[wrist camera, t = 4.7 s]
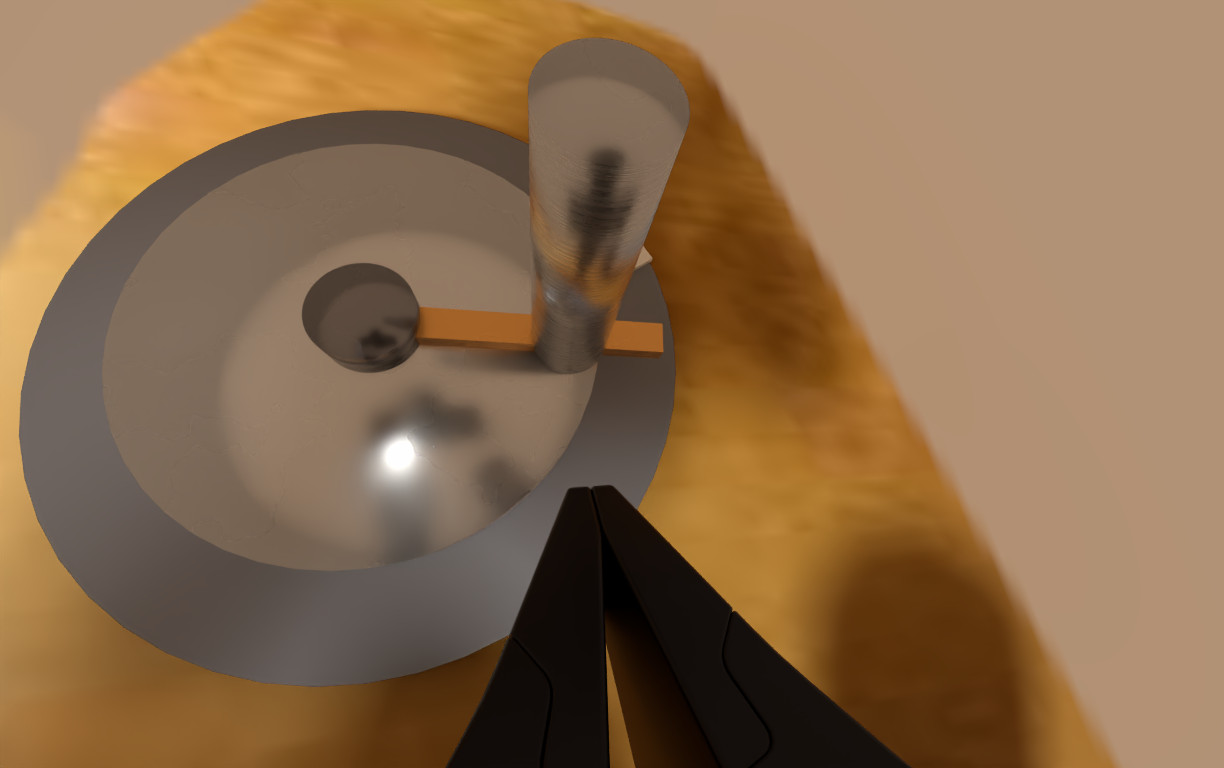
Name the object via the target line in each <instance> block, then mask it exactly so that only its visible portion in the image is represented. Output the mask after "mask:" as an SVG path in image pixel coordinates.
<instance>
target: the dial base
mask: <svg viewBox="0 0 1224 768" xmlns="http://www.w3.org/2000/svg"><path fill="white" fill-rule="evenodd" d="M353 144H388V145H403V146H410V147H416V148H422V149H428V150H433V151H436V152H440V153H444V154H447V155H451V156H455V157H458V158H460V159H463V160H466V161H468V162H471V163H473V164H476V165H478V166H481V167H483V168H485V169H487V170H489V171H491V172H492V173H494V174H496V175H498V176H500V177H502V178H504V179H505V180H507V181H508V182H510V183H511V184H513V185H514V186H516V187H517V188H519V189H520V190H522V191H523V192H525V193H526V194H527V195H528V196H529V197H530V186H529V144H527V143H524V142H522V141H520V140H517V139H515V138H513V137H510V136H508V135H506V134H504V133H501V132H499V131H496V130H492V129H489V128H486V127H483V126H480V125H477V124H474V123H471V122H467V121H462V120H457V119H453V118H448V117H443V116H439V115H433V114H424V113H415V112H406V111H366V110H365V111H353V112H341V113H329V114H323V115H318V116H312V117H307V118H301V119H296V120H291V121H287V122H284V123H280V124H277V125H273V126H270V127H266V128H263V129H259V130H256V131H253V132H251V133H248V134H245V135H243V136H240V137H238V138H235V139H233V140H230V141H228V142H225V143H222V144H220V145H218V146H216V147H214V148H212V149H210V150H208V151H206V152H204V153H202V154H200V155H198V156H197V157H195V158H193V159H191V160H189V161H187V162H185V163H183V164H182V165H180V166H179V167H177V168H176V169H174V170H173V171H171V172H170V173H168V174H166V175H165V176H163V177H162V178H160V179H159V180H157V181H156V182H154V183H153V184H151V185H150V186H149V187H147V188H146V189H145V190H144V191H143V192H141V193H140V194H139V195H138V196H137V197H135V198H134V199H133V200H132V201H130V202H129V203H128V204H127V205H126V206H124V207H123V208H122V209H121V210H120V211H119V212H118V213H117V214H116V215H115V216H114V217H113V218H112V219H111V220H110V221H109V222H108V223H107V224H106V225H105V226H104V227H103V228H102V229H101V230H100V231H99V232H98V233H97V234H96V236H95V237H94V238H93V239H92V240H91V241H90V242H89V243H88V245H87V246H86V247H85V249H84V250H83V252H82V253H81V254H80V256H79V257H78V258H77V260H76V261H75V262H74V264H73V265H72V266H71V268H70V269H69V270H68V272H67V273H66V274H65V276H64V278H63V280H62V282H61V283H60V285H59V287H58V289H57V291H56V292H55V294H54V296H53V298H52V300H51V301H50V303H49V305H48V307H47V309H46V310H45V313H44V315H43V318H42V320H41V323H40V326H39V328H38V331H37V334H36V336H35V339H34V341H33V344H32V347H31V349H30V353H29V358H28V362H27V367H26V372H25V376H24V381H23V386H22V390H21V404H20V426H19V439H20V447H21V454H22V462H23V470H24V478H25V481H26V484H27V488H28V491H29V494H30V497H31V500H32V503H33V506H34V510H35V513H36V516H37V519H38V521H39V523H40V525H41V527H42V529H43V531H44V533H45V535H46V536H47V538H48V540H49V542H50V544H51V546H52V548H53V549H54V551H55V553H56V555H57V557H58V559H59V560H60V562H61V563H62V564H63V565H64V567H65V568H66V569H67V570H68V572H69V573H70V574H71V575H72V577H73V578H74V579H75V580H76V582H77V583H78V584H79V585H80V587H81V588H82V589H83V590H84V592H85V593H86V594H87V595H88V597H90V598H91V599H92V600H93V601H94V602H95V603H96V604H98V605H99V606H100V607H101V608H102V609H103V610H105V611H106V612H107V613H108V614H109V615H110V616H111V617H113V618H114V619H115V620H116V621H117V622H118V623H119V624H121V625H122V626H123V627H124V628H126V629H127V630H129V631H131V632H132V633H134V634H136V635H137V636H139V637H141V638H142V639H144V640H146V641H147V642H149V643H151V644H152V645H154V646H156V647H157V648H159V649H160V650H162V651H164V652H165V653H168V654H170V655H173V656H175V657H178V658H180V659H183V660H185V661H188V662H190V663H193V664H195V665H198V666H200V667H203V668H205V669H208V670H210V671H213V672H217V673H221V674H226V675H230V676H235V677H239V678H243V679H248V680H252V681H257V682H261V683H270V684H284V685H297V686H310V687H321V686H336V685H352V684H367V683H372V682H377V681H382V680H387V679H391V678H396V677H401V676H406V675H411V674H416V673H419V672H422V671H425V670H428V669H431V668H434V667H437V666H440V665H443V664H446V663H449V662H451V661H454V660H457V659H460V658H463V657H466V656H468V655H470V654H472V653H474V652H476V651H478V650H480V649H482V648H484V647H486V646H488V645H490V644H492V643H494V642H496V641H498V640H500V639H502V638H504V637H506V636H508V635H509V634H510V632H511V629H512V627H513V624H514V622H515V619H516V617H517V614H518V612H519V609H520V606H521V604H522V601H523V599H524V596H525V594H526V591H527V589H528V586H529V584H530V581H531V579H532V576H533V574H534V571H535V569H536V566H537V564H538V561H539V559H540V556H541V554H542V551H543V549H544V546H545V544H546V541H547V539H548V536H549V534H550V531H551V529H552V526H553V524H554V521H555V519H556V516H557V514H558V511H559V509H560V506H561V504H562V501H563V499H564V496H565V494H566V491H567V490H568V489H569V488H571V487H584V486H587V487H589V488H590V489H591V488H592V487H593V486H599V485H612V486H614V487H615V488H616V489H617V490H618V491H619V492H620V493H621V494H622V495H623V496H624V497H625V498H626V499H627V500H628V501H629V502H630V503H631V504H632V505H633V506H634V507H635V508H636V509H638V507H639V505H640V503H641V501H642V499H643V497H644V495H645V493H646V491H647V489H648V487H649V485H650V483H651V481H652V479H653V477H654V474H655V471H656V469H657V466H658V463H659V460H660V457H661V454H662V452H663V449H664V446H665V443H666V439H667V434H668V429H669V425H670V420H671V415H672V410H673V403H674V389H675V375H676V369H675V354H674V339H673V334H672V329H671V324H670V319H669V314H668V309H667V305H666V302H665V300H664V297H663V294H662V291H661V288H660V285H659V282H658V279H657V277H656V275H655V273H654V271H653V269H652V267H651V265H650V263H649V262H651V261H652V259H653V258H652V257H651V255H650V254H649V253H648V251H647V250H646V249H645V248H644V246H643V247H642V250H641V253H640V255H639V258H638V261H637V263H636V266H635V269H634V271H633V274H632V277H631V279H630V282H629V285H628V287H627V290H626V293H625V295H624V298H623V301H622V303H621V306H620V309H619V311H618V314H617V317H616V319H615V320H617V321H632V322H646V323H660V324H662V325H663V353H662V355H661V356H660V358H659V359H655V358H638V357H621V356H604V355H602V356H601V358H600V359H599V361H598V363H597V370H596V374H595V379H594V383H593V388H592V392H591V395H590V398H589V401H588V403H587V406H586V409H585V411H584V414H583V417H582V419H581V422H580V424H579V427H578V429H577V431H576V433H575V435H574V436H573V438H572V440H571V442H570V444H569V446H568V448H567V449H566V451H565V453H564V454H563V456H562V457H561V459H560V460H559V461H558V463H557V464H556V465H555V467H554V468H553V470H552V471H551V472H550V474H549V475H548V476H547V477H546V478H545V480H544V481H543V482H542V483H541V484H540V485H539V486H538V487H537V488H536V489H535V490H534V491H533V492H532V493H531V495H530V496H529V497H528V498H526V499H525V500H524V501H523V502H522V503H520V504H519V505H518V506H517V507H516V508H514V509H513V510H512V511H511V512H510V513H508V514H507V515H506V516H505V517H503V518H502V519H500V520H499V521H497V522H496V523H494V524H492V525H491V526H489V527H488V528H486V529H485V530H483V531H482V532H480V533H478V534H477V535H475V536H472V537H470V538H468V539H466V540H464V541H462V542H460V543H458V544H456V545H454V546H452V547H450V548H447V549H444V550H441V551H438V552H435V553H432V554H429V555H426V556H423V557H420V558H417V559H413V560H408V561H403V562H399V563H394V564H389V565H384V566H379V567H374V568H367V569H354V570H340V571H321V570H304V569H292V568H287V567H282V566H277V565H271V564H266V563H261V562H257V561H254V560H251V559H248V558H245V557H243V556H240V555H237V554H234V553H231V552H228V551H225V550H223V549H221V548H219V547H217V546H215V545H213V544H211V543H210V542H208V541H206V540H204V539H202V538H200V537H198V536H196V535H194V534H193V533H191V532H190V531H188V530H187V529H186V528H184V527H183V526H182V525H180V524H179V523H178V522H176V521H175V520H174V519H172V518H171V517H170V516H169V515H167V514H166V513H165V512H164V511H163V510H162V509H161V508H160V507H159V506H158V505H157V504H156V503H155V502H154V501H153V500H152V499H151V498H150V497H149V496H148V495H147V494H146V492H145V491H144V490H143V489H142V488H141V487H140V485H139V484H138V482H137V481H136V479H135V478H134V476H133V475H132V473H131V472H130V470H129V469H128V467H127V466H126V464H125V463H124V461H123V459H122V457H121V454H120V452H119V450H118V447H117V445H116V443H115V440H114V438H113V436H112V434H111V431H110V426H109V422H108V418H107V414H106V409H105V405H104V399H103V382H102V365H103V356H104V347H105V339H106V336H107V332H108V328H109V325H110V321H111V317H112V314H113V310H114V308H115V306H116V304H117V301H118V299H119V297H120V295H121V292H122V290H123V288H124V286H125V283H126V282H127V280H128V278H129V277H130V275H131V274H132V272H133V270H134V269H135V267H136V266H137V264H138V262H139V261H140V259H141V258H142V256H143V255H144V254H145V252H146V251H147V250H148V249H149V248H150V246H151V245H152V244H153V243H154V241H155V240H156V239H157V238H158V237H159V235H160V234H161V233H162V232H163V231H164V230H165V229H166V228H167V227H168V226H169V225H170V224H171V223H172V222H173V221H175V220H176V219H177V218H178V217H179V216H180V215H181V214H182V213H183V212H184V211H185V210H187V209H188V208H189V207H191V206H192V205H193V204H195V203H196V202H197V201H199V200H200V199H201V198H203V197H204V196H205V195H207V194H208V193H209V192H211V191H213V190H214V189H216V188H218V187H220V186H221V185H223V184H225V183H226V182H228V181H230V180H231V179H233V178H235V177H237V176H239V175H241V174H243V173H246V172H248V171H250V170H252V169H254V168H257V167H259V166H261V165H263V164H266V163H269V162H272V161H275V160H278V159H281V158H284V157H287V156H290V155H293V154H298V153H302V152H306V151H311V150H315V149H319V148H327V147H334V146H342V145H353Z"/></svg>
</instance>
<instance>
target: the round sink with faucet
mask: <svg viewBox="0 0 1224 768" xmlns="http://www.w3.org/2000/svg"><path fill="white" fill-rule="evenodd" d="M528 114H529V186H530V197H529V196H528V195H527V194H526V193H525V192H523V191H522V190H520V189H519V188H517V187H516V186H514V185H513V184H511V183H510V182H508V181H507V180H505V179H504V178H502V177H500V176H498V175H496V174H494V173H492V172H491V171H489V170H487V169H485V168H483V167H481V166H478V165H476V164H473V163H471V162H468V161H466V160H463V159H460V158H458V157H455V156H451V155H447V154H444V153H440V152H436V151H433V150H428V149H422V148H416V147H410V146H403V145H388V144H353V145H342V146H334V147H327V148H319V149H315V150H311V151H306V152H302V153H298V154H293V155H290V156H287V157H284V158H281V159H278V160H275V161H272V162H269V163H266V164H263V165H261V166H259V167H257V168H254V169H252V170H250V171H248V172H246V173H243V174H241V175H239V176H237V177H235V178H233V179H231V180H230V181H228V182H226V183H225V184H223V185H221V186H220V187H218V188H216V189H214V190H213V191H211V192H209V193H208V194H207V195H205V196H204V197H203V198H201V199H200V200H199V201H197V202H196V203H195V204H193V205H192V206H191V207H189V208H188V209H187V210H185V211H184V212H183V213H182V214H181V215H180V216H179V217H178V218H177V219H176V220H175V221H173V222H172V223H171V224H170V225H169V226H168V227H167V228H166V229H165V230H164V231H163V232H162V233H161V234H160V235H159V237H158V238H157V239H156V240H155V241H154V243H153V244H152V245H151V246H150V248H149V249H148V250H147V251H146V252H145V254H144V255H143V256H142V258H141V259H140V261H139V262H138V264H137V266H136V267H135V269H134V270H133V272H132V274H131V275H130V277H129V278H128V280H127V282H126V283H125V286H124V288H123V290H122V292H121V295H120V297H119V299H118V301H117V304H116V306H115V308H114V310H113V314H112V317H111V321H110V325H109V328H108V332H107V336H106V339H105V347H104V356H103V365H102V382H103V399H104V405H105V409H106V414H107V418H108V422H109V426H110V431H111V434H112V436H113V438H114V440H115V443H116V445H117V447H118V450H119V452H120V454H121V457H122V459H123V461H124V463H125V464H126V466H127V467H128V469H129V470H130V472H131V473H132V475H133V476H134V478H135V479H136V481H137V482H138V484H139V485H140V487H141V488H142V489H143V490H144V491H145V492H146V494H147V495H148V496H149V497H150V498H151V499H152V500H153V501H154V502H155V503H156V504H157V505H158V506H159V507H160V508H161V509H162V510H163V511H164V512H165V513H166V514H167V515H169V516H170V517H171V518H172V519H174V520H175V521H176V522H178V523H179V524H180V525H182V526H183V527H184V528H186V529H187V530H188V531H190V532H191V533H193V534H194V535H196V536H198V537H200V538H202V539H204V540H206V541H208V542H210V543H211V544H213V545H215V546H217V547H219V548H221V549H223V550H225V551H228V552H231V553H234V554H237V555H240V556H243V557H245V558H248V559H251V560H254V561H257V562H261V563H266V564H271V565H277V566H282V567H287V568H292V569H304V570H321V571H340V570H354V569H367V568H374V567H379V566H384V565H389V564H394V563H399V562H403V561H408V560H413V559H417V558H420V557H423V556H426V555H429V554H432V553H435V552H438V551H441V550H444V549H447V548H450V547H452V546H454V545H456V544H458V543H460V542H462V541H464V540H466V539H468V538H470V537H472V536H475V535H477V534H478V533H480V532H482V531H483V530H485V529H486V528H488V527H489V526H491V525H492V524H494V523H496V522H497V521H499V520H500V519H502V518H503V517H505V516H506V515H507V514H508V513H510V512H511V511H512V510H513V509H514V508H516V507H517V506H518V505H519V504H520V503H522V502H523V501H524V500H525V499H526V498H528V497H529V496H530V495H531V493H532V492H533V491H534V490H535V489H536V488H537V487H538V486H539V485H540V484H541V483H542V482H543V481H544V480H545V478H546V477H547V476H548V475H549V474H550V472H551V471H552V470H553V468H554V467H555V465H556V464H557V463H558V461H559V460H560V459H561V457H562V456H563V454H564V453H565V451H566V449H567V448H568V446H569V444H570V442H571V440H572V438H573V436H574V435H575V433H576V431H577V429H578V427H579V424H580V422H581V419H582V417H583V414H584V411H585V409H586V406H587V403H588V401H589V398H590V395H591V392H592V388H593V383H594V379H595V374H596V370H597V363H598V361H599V359H600V358H601V356H602V355H604V356H621V357H638V358H655V359H659V358H660V356H661V355H662V353H663V325H662V324H660V323H646V322H632V321H617V320H615V319H616V317H617V314H618V311H619V309H620V306H621V303H622V301H623V298H624V295H625V293H626V290H627V287H628V285H629V282H630V279H631V277H632V274H633V271H634V269H635V266H636V263H637V261H638V258H639V255H640V253H641V250H642V247H643V245H644V242H645V239H646V237H647V234H648V231H649V229H650V226H651V223H652V221H653V218H654V215H655V213H656V210H657V207H658V205H659V202H660V199H661V197H662V194H663V191H664V189H665V186H666V183H667V181H668V178H669V175H670V173H671V170H672V167H673V165H674V162H675V159H676V157H677V154H678V151H679V149H680V146H681V143H682V141H683V138H684V135H685V133H686V130H687V127H688V124H689V118H690V107H689V101H688V98H687V94H686V92H685V90H684V88H683V85H682V84H681V82H680V81H679V79H678V78H677V76H676V75H675V74H674V73H673V71H672V70H671V69H670V68H669V67H668V66H667V65H666V64H664V63H663V62H662V61H661V60H659V59H658V58H657V57H655V56H654V55H652V54H651V53H649V52H647V51H645V50H643V49H641V48H639V47H637V46H634V45H632V44H629V43H625V42H622V41H618V40H613V39H605V38H585V39H578V40H573V41H570V42H566V43H563V44H561V45H559V46H557V47H555V48H553V49H552V50H550V51H549V52H547V53H546V54H545V55H544V56H543V57H542V58H541V59H540V60H539V61H538V63H537V64H536V65H535V67H534V69H533V71H532V73H531V76H530V79H529V85H528Z"/></svg>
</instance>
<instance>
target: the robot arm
mask: <svg viewBox="0 0 1224 768" xmlns="http://www.w3.org/2000/svg"><path fill="white" fill-rule="evenodd" d="M606 645H607V649H608V654H609V658H610V662H611V666H612V671H613V675H614V679H615V683H616V687H617V692H618V696H619V700H620V704H621V709H622V713H623V717H624V721H625V725H626V730H627V734H628V738H629V742H630V747H631V751H632V755H633V759H634V764H635V768H913V767H911V766H910V765H908V764H907V763H906V762H905V761H903V760H902V759H901V758H900V757H898V756H897V755H896V754H895V753H893V752H892V751H891V750H890V749H889V748H888V747H886V746H885V745H884V744H883V743H882V742H881V741H879V740H878V739H877V738H876V737H875V736H873V735H872V734H871V733H870V732H869V731H868V730H866V729H865V728H864V727H863V726H862V725H861V724H859V723H858V722H857V721H856V720H855V719H854V718H852V717H851V716H850V715H849V714H848V713H846V712H845V711H844V710H843V709H842V708H841V707H839V706H838V705H837V704H836V703H835V702H834V701H832V700H831V699H830V698H829V697H828V696H827V695H825V694H824V693H823V692H822V691H821V690H819V689H818V688H817V687H816V686H815V685H814V684H812V683H811V682H810V681H809V680H808V679H807V678H806V677H804V676H803V675H802V674H801V673H800V672H799V671H798V670H797V669H795V668H794V667H793V666H792V665H791V664H790V663H789V662H788V661H786V660H785V659H784V658H783V657H782V656H781V655H780V654H779V653H778V652H777V651H776V650H775V649H773V648H772V647H771V646H770V645H769V644H768V643H767V642H766V641H765V640H764V639H763V638H762V637H761V636H760V635H759V634H758V633H757V632H756V631H755V630H754V629H753V628H752V627H751V626H750V625H749V624H748V623H747V622H746V621H745V620H744V619H743V618H742V617H741V616H740V615H739V614H738V613H737V612H736V611H733V612H732V607H731V606H730V605H729V604H728V603H727V602H726V601H725V600H724V599H723V598H722V597H721V596H720V594H719V593H718V592H717V591H716V590H715V589H714V588H713V587H712V586H711V585H710V584H709V583H708V582H707V581H706V580H705V579H704V578H703V577H702V576H701V575H700V574H699V573H698V572H697V571H696V570H695V569H694V568H693V567H692V566H691V565H690V564H689V563H688V562H687V561H686V560H685V559H684V558H683V557H682V556H681V554H680V553H679V552H678V551H677V550H676V549H675V548H674V547H673V546H672V545H671V544H670V543H669V542H668V541H667V540H666V539H665V538H664V537H663V536H662V535H661V534H660V533H659V532H658V531H657V530H656V529H655V528H654V527H653V526H652V525H651V524H650V523H649V522H648V521H647V520H646V519H645V518H644V517H643V516H642V515H641V513H640V512H639V511H638V510H637V509H636V508H635V507H634V506H633V505H632V504H631V503H630V502H629V501H628V500H627V499H626V498H625V497H624V496H623V495H622V494H621V493H620V492H619V491H618V490H617V489H616V488H615V487H614V486H612V485H599V486H593V487H592V488H591V489H590V488H589V487H587V486H584V487H571V488H569V489H568V490H567V491H566V494H565V496H564V499H563V501H562V504H561V506H560V509H559V511H558V514H557V516H556V519H555V521H554V524H553V526H552V529H551V531H550V534H549V536H548V539H547V541H546V544H545V546H544V549H543V551H542V554H541V556H540V559H539V561H538V564H537V566H536V569H535V571H534V574H533V576H532V579H531V581H530V584H529V586H528V589H527V591H526V594H525V596H524V599H523V601H522V604H521V606H520V609H519V612H518V614H517V617H516V619H515V622H514V624H513V627H512V629H511V632H510V634H509V638H508V639H507V641H506V643H505V646H504V648H503V651H502V653H501V656H500V658H499V661H498V663H497V665H496V668H495V670H494V672H493V674H492V677H491V679H490V681H489V684H488V686H487V688H486V690H485V693H484V695H483V697H482V699H481V701H480V703H479V705H478V707H477V709H476V711H475V713H474V715H473V717H472V719H471V721H470V723H469V725H468V727H467V729H466V731H465V732H464V734H463V736H462V738H461V740H460V742H459V744H458V746H457V747H456V749H455V751H454V753H453V755H452V757H451V758H450V760H449V762H448V764H447V766H446V768H610V755H609V725H608V695H607V665H606Z"/></svg>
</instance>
